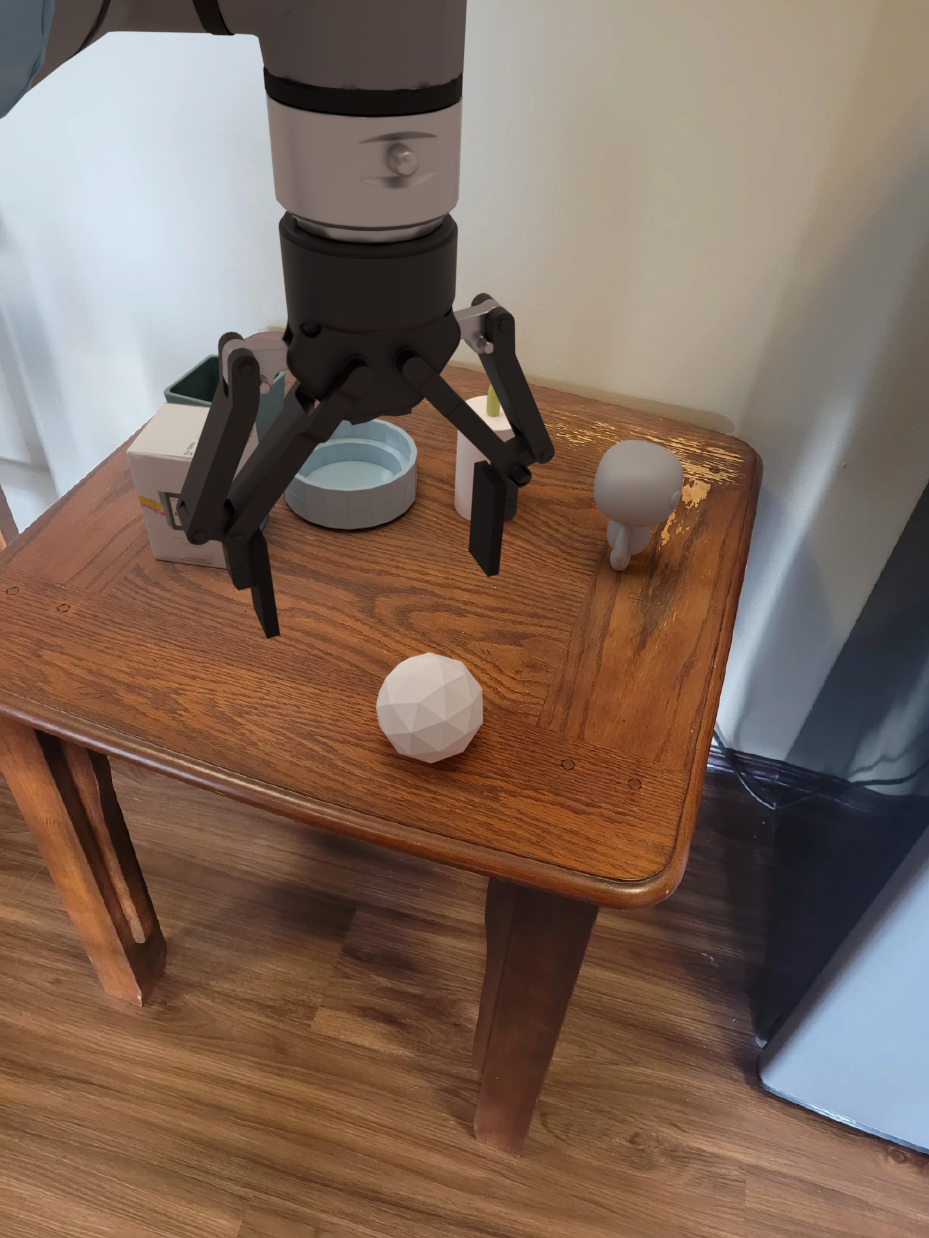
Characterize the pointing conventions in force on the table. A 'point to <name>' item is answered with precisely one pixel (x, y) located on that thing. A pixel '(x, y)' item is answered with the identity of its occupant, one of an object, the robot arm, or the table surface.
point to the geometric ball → (430, 707)
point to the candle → (470, 454)
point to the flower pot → (203, 384)
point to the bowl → (357, 477)
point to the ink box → (173, 481)
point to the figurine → (636, 494)
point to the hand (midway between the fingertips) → (380, 591)
